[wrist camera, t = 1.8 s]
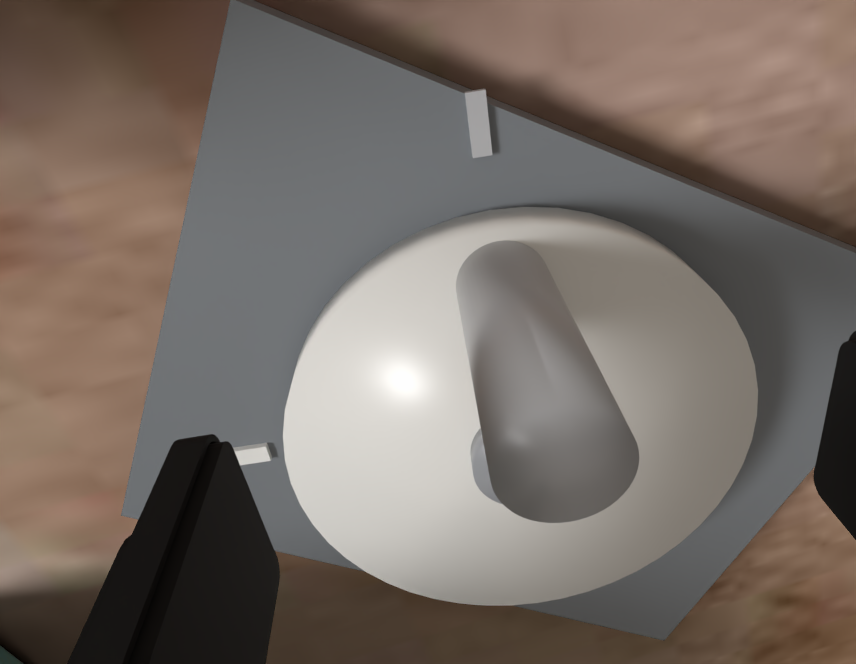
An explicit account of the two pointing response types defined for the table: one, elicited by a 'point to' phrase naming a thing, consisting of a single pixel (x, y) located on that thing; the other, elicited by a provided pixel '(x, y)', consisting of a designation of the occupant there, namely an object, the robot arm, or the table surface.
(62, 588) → the table surface
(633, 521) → the white round dome
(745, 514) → the stand
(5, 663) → the flower pot
